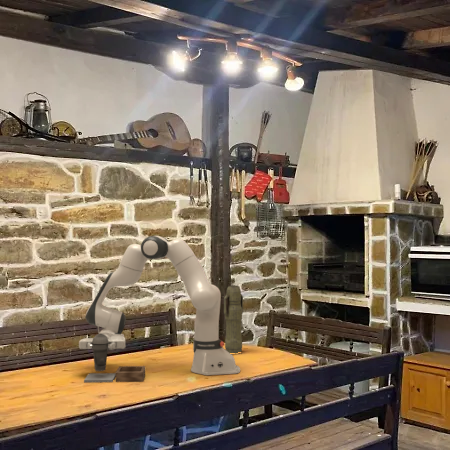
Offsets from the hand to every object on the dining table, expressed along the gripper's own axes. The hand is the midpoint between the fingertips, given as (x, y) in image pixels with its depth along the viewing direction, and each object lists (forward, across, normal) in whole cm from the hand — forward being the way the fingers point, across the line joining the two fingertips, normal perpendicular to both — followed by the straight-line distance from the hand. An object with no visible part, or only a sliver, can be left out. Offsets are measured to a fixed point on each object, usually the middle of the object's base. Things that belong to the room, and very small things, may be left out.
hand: (100, 347), depth 262 cm
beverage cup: (-1, 0, +10) cm, 10 cm away
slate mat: (-1, 0, +14) cm, 14 cm away
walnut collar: (-1, +13, +14) cm, 19 cm away
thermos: (-54, +61, +14) cm, 83 cm away
